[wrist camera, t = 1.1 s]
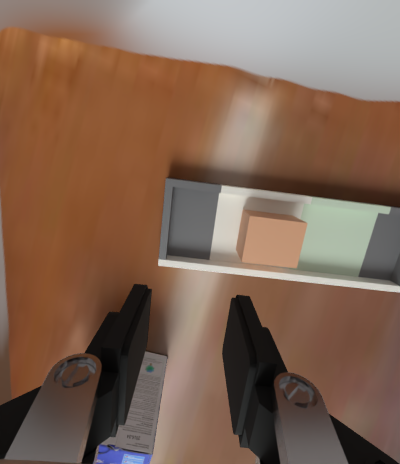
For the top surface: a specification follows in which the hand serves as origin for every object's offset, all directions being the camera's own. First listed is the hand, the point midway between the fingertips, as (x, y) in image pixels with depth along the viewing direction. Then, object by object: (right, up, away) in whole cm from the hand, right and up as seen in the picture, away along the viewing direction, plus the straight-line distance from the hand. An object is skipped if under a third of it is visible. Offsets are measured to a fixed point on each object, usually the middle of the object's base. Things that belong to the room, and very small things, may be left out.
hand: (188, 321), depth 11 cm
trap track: (+11, +4, +19) cm, 22 cm away
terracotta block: (+8, +4, +19) cm, 21 cm away
